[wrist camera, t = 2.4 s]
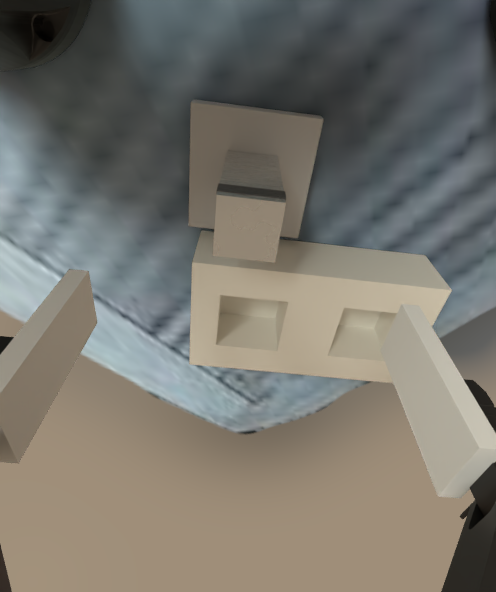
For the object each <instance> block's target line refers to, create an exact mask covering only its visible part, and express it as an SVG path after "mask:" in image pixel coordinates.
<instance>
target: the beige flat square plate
mask: <svg viewBox="0 0 496 592" xmlns="http://www.w3.org/2000/svg"><path fill="white" fill-rule="evenodd" d="M323 120H324V119H323V118H322V117H321V116H318V115H311V114H303V113H295V112H288V111H280V110H272V109H265V108H257V107H249V106H241V105H234V104H226V103H218V102H211V101H203V100H195V99H193V100H192V101H191V115H190V171H189V226H191V227H200V228H209V229H214V223H215V207H216V191H217V187H218V183H220V179H221V175H222V171H223V167H224V163H225V159H226V155H227V151H228V150H236V151H245V152H253V153H261V154H269V155H277V156H278V159H279V165H280V171H281V177H282V182H283V188H284V191H285V194H286V206H285V211H284V217H283V222H282V228H281V233H280V237H289V238H298V236H299V232H300V227H301V222H302V218H303V213H304V208H305V204H306V199H307V194H308V190H309V185H310V181H311V176H312V171H313V167H314V162H315V157H316V153H317V148H318V143H319V139H320V134H321V130H322V125H323Z"/></svg>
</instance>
